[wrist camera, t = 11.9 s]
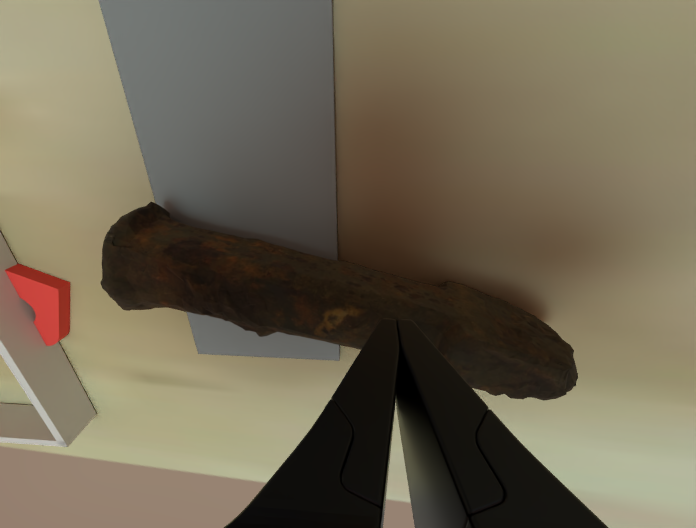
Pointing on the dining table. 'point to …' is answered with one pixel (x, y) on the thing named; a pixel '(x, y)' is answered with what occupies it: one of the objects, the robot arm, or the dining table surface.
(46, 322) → the bracket
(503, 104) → the dining table surface
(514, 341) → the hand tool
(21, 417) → the parts frame
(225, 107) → the mat
